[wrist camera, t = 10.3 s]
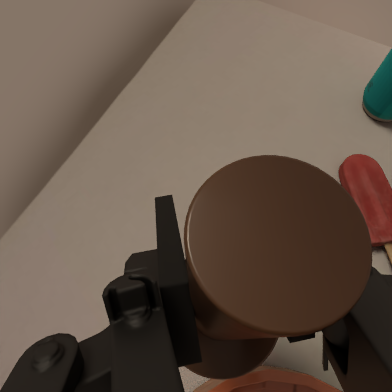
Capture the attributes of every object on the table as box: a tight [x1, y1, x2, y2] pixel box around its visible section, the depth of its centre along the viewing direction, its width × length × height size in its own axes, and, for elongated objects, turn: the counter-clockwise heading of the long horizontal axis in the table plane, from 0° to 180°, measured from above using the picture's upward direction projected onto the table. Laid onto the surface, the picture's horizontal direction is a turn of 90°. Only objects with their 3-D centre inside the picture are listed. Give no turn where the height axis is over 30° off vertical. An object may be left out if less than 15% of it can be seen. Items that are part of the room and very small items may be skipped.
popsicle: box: [339, 154, 392, 264], centre depth 32 cm, size 4×2×15 cm
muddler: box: [184, 155, 372, 380], centre depth 11 cm, size 6×6×14 cm
